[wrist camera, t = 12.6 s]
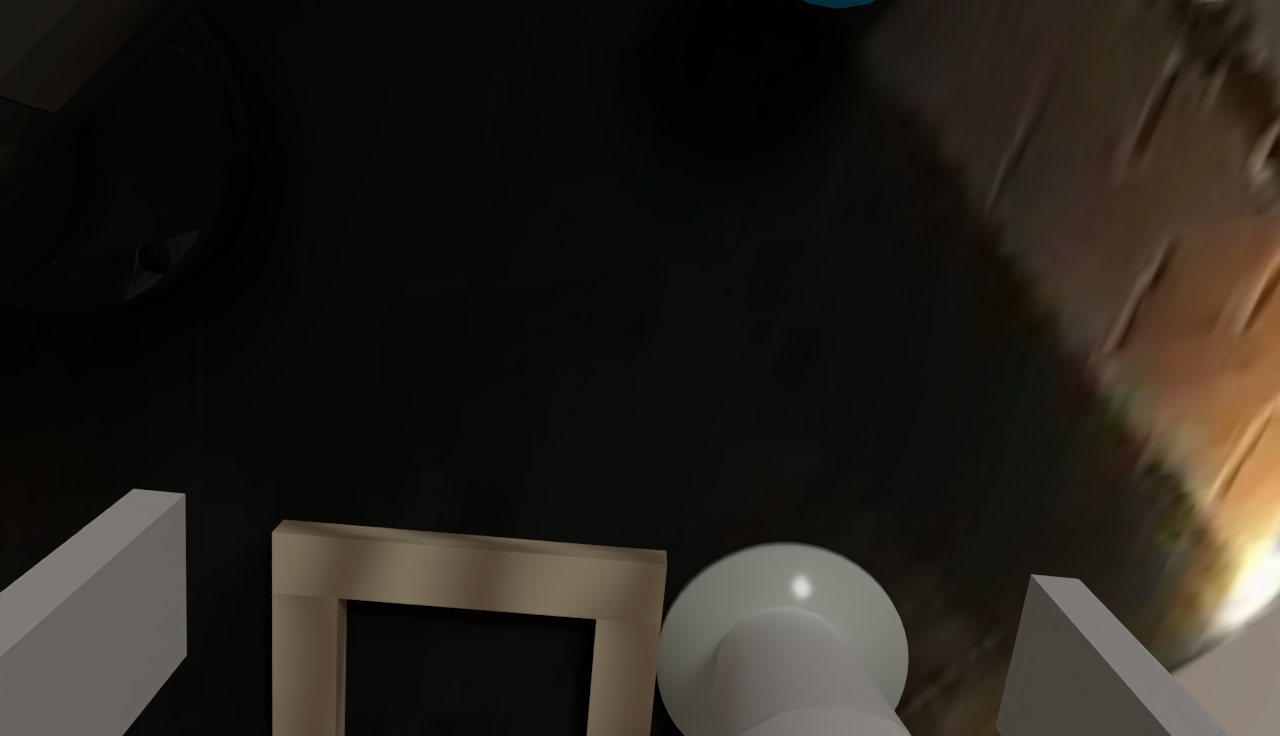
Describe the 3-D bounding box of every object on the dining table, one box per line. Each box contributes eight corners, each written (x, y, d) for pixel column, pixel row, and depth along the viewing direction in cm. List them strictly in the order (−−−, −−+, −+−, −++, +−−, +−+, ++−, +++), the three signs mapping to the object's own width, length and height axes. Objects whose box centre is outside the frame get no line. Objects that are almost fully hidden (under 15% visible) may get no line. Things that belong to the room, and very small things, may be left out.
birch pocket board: (283, 847, 50) (272, 868, 49) (283, 519, 46) (272, 532, 44) (633, 873, 50) (633, 896, 49) (666, 551, 46) (666, 564, 45)
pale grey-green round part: (645, 755, 49) (645, 765, 48) (668, 531, 46) (668, 538, 45) (884, 773, 49) (888, 784, 48) (921, 552, 46) (926, 559, 45)
